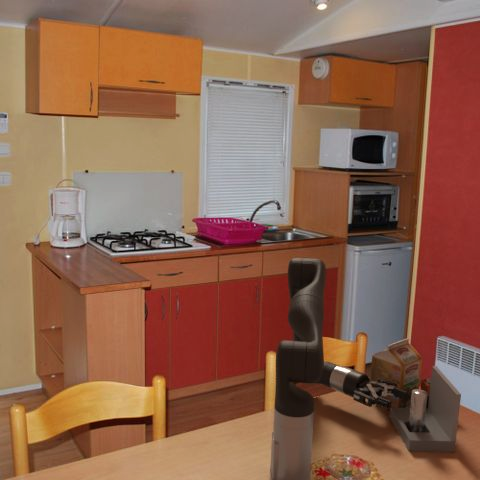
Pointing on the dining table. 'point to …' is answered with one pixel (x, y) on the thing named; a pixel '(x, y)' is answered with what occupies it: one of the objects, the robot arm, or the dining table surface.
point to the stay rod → (417, 410)
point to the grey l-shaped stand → (432, 418)
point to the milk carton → (398, 370)
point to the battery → (426, 388)
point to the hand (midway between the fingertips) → (398, 400)
